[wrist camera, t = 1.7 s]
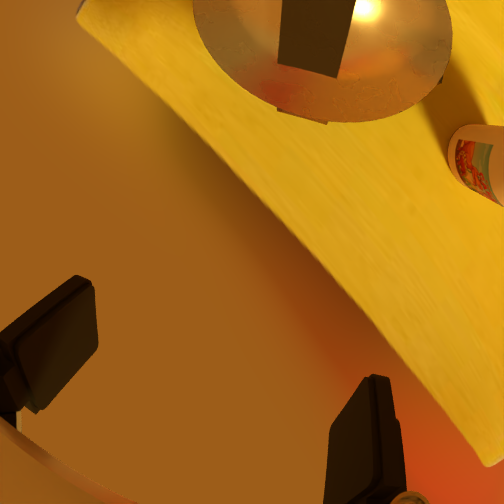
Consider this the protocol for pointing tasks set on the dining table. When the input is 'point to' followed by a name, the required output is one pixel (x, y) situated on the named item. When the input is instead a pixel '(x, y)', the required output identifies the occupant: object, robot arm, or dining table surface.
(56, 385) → the robot arm
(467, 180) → the milk bottle
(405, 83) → the cooker lid
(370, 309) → the dining table surface
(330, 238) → the dining table surface
